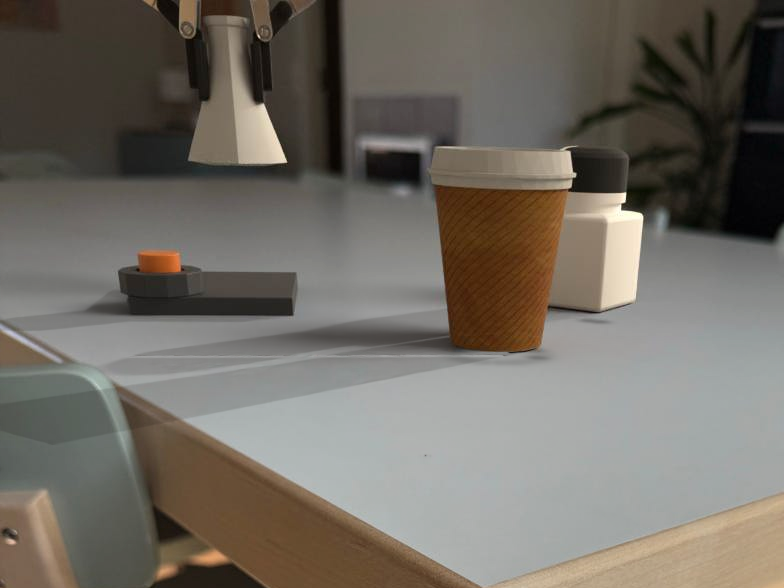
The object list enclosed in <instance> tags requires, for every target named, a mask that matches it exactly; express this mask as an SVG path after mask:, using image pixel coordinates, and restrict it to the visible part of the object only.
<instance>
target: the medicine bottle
mask: <svg viewBox="0 0 784 588" xmlns="http://www.w3.org/2000/svg"><path fill="white" fill-rule="evenodd" d="M559 150H566V151H570V154H571V162H572V170H573V173H576V177H574V178H572V186H571V188H568V194H567V198H566V205H565V210H564V216H563V222H562V227H561V234H560V239H559V245H558V250H557V257H556V261H555V267H554V273H553V279H552V286H551V290H550V296H549V302H548V307H551V308H552V307H553V308H561V309H568V310H577V311H584V312H585V311H586V312H590V313H591V312H592V313H601V312H605V311H608V310H611V309H615V308H619V307H623V306H625V305H629V304H633V303H635V301H636V296H637V287H638V276H639V267H640V259H641V258H640V255H641V247H642V237H643V236H642V234H643V225H644V215H643V214H642V213H641V212H637V211H634V210H633V211H632V210H622V204H624V203H626V200H627V199H626V198H627V190H628V189H627V188H628V177H629V167H630V157H629V155H628V154H627V153H626V152H625V151H624V150H622V149H620V148H616V147H612V146H601V145H599V146H598V145H570V146H564V147H562V148H560V149H559Z"/></svg>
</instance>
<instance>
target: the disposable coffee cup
mask: <svg viewBox="0 0 784 588" xmlns="http://www.w3.org/2000/svg"><path fill="white" fill-rule="evenodd" d="M426 170H427V173H428V174H430V183H431V184H433V185H434V194H435V204H436V205H435V206H436V214H437V225H438V233H439V242H440V244H439V245H440V253H441V264H442V273H443V282H444V292H445V302H446V311H447V321H448V322H447V323H448V329H449V330H448V331H449V342H450V343H451V344H452V345H454V346H457V347H460V348H463V349H469V350H474V351H477V350H478V351H485V352H507V353H514V352H524V351H531V350H535V349H537V348H539V347H540V346H542V341H543V336H544V330H545V324H546V319H547V313H548V307H549V306H548V302H549V296H550V290H551V286H552V279H553V273H554V267H555V261H556V257H557V250H558V245H559V239H560V234H561V227H562V222H563V216H564V210H565V205H566V198H567V194H568V188H571V186H572V178H574V177H576V173H573V170H572V162H571V154H570V151H566V150H560V149H549V148H526V147H525V148H524V147H500V146H499V147H497V146H450V145H449V146H448V145H447V146H434V150H433V155H432V159H431V165H430V167H427V168H426Z"/></svg>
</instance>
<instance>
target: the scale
mask: <svg viewBox="0 0 784 588" xmlns="http://www.w3.org/2000/svg"><path fill="white" fill-rule="evenodd" d="M180 266H181V271H179V272H168V273H148V272H140V271H139V264H137V265H130V266H125V267H121V268H119V269H118V270H117V274H118V282H119V290H120V293H121V294H123V295H126V296H127V304H128V313H129V316H201V317H202V316H204V317H205V316H206V317H207V316H218V317H220V316H221V317H222V316H223V317H225V316H228V317H230V316H231V317H234V316H236V317H237V316H238V317H240V316H241V317H242V316H244V317H245V316H248V317H249V316H250V317H252V316H253V317H255V316H256V317H294V315H295V310H296V304H297V303H296V302H297V296H298V290H299V289H298V288H299V286H298V273H297V272H296V271H208V270H207V271H205V270H203V269H202V268H200V267H197V266H193V265H187V264H186V265H185V264H180ZM202 270H203V271H202Z"/></svg>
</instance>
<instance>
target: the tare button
mask: <svg viewBox="0 0 784 588" xmlns="http://www.w3.org/2000/svg"><path fill="white" fill-rule="evenodd" d="M137 263H138V264H137V265H139V271H140V272H148V273H168V272H179V271H181V266H180V265H181V259H180V253H179V252H178V251H173V250H144V251H139V252H137Z"/></svg>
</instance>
